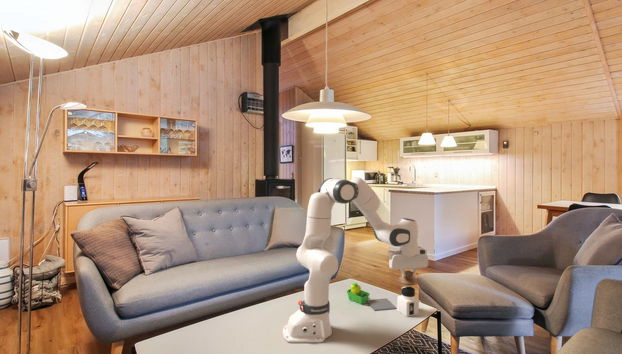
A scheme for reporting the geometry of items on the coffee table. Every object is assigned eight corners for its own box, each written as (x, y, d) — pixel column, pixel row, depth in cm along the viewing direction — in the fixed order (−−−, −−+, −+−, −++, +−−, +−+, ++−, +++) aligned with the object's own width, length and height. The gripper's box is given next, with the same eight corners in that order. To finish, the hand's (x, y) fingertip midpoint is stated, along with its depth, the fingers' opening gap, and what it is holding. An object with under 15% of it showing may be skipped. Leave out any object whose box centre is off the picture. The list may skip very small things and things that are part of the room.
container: (419, 314, 166) (419, 289, 166) (406, 317, 163) (406, 291, 163) (409, 308, 173) (409, 284, 173) (397, 310, 171) (397, 286, 170)
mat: (374, 310, 170) (374, 309, 170) (366, 301, 182) (366, 300, 182) (396, 308, 173) (396, 307, 173) (386, 299, 184) (386, 298, 184)
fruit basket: (370, 302, 181) (370, 282, 180) (360, 307, 175) (360, 286, 174) (354, 296, 189) (354, 276, 189) (344, 300, 183) (344, 280, 183)
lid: (403, 286, 162) (404, 275, 162) (394, 278, 172) (394, 269, 171) (422, 284, 164) (422, 274, 164) (412, 277, 174) (412, 267, 173)
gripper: (392, 253, 162) (392, 280, 162) (430, 250, 166) (429, 277, 166) (386, 249, 168) (386, 276, 169) (423, 247, 172) (423, 273, 173)
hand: (408, 276), depth 168 cm, fingers closed on lid, 3 cm apart
